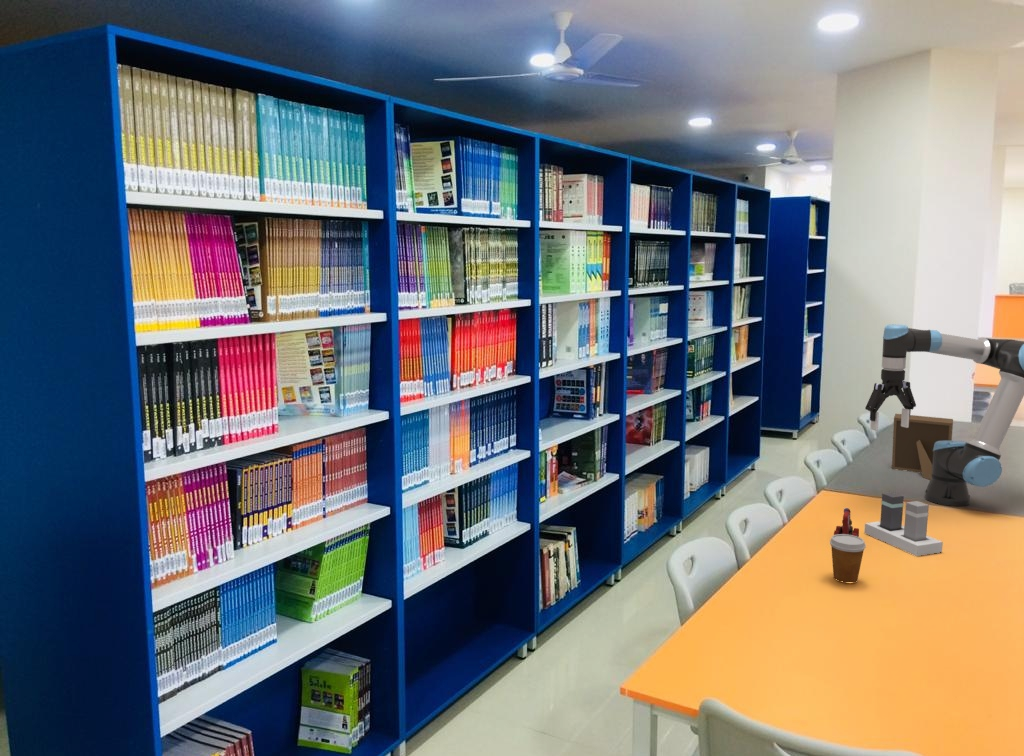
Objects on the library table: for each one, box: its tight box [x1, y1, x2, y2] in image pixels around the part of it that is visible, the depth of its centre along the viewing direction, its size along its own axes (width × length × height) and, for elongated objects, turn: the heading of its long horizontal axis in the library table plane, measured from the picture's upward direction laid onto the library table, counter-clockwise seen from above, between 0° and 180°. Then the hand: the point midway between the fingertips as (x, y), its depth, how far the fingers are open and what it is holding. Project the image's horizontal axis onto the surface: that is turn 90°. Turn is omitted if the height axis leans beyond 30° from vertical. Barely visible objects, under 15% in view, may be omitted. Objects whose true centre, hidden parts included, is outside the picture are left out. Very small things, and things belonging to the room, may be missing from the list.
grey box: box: [879, 491, 905, 531], centre depth 258 cm, size 5×5×14 cm
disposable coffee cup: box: [829, 534, 867, 583], centre depth 224 cm, size 10×10×12 cm
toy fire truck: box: [833, 508, 860, 537], centre depth 255 cm, size 7×12×10 cm, turn 152°
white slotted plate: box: [863, 520, 944, 557], centre depth 254 cm, size 10×22×4 cm, turn 18°
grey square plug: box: [903, 500, 930, 542], centre depth 248 cm, size 5×5×14 cm
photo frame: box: [891, 413, 954, 481], centre depth 332 cm, size 15×22×25 cm
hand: (889, 428), depth 277 cm, fingers open, 13 cm apart
